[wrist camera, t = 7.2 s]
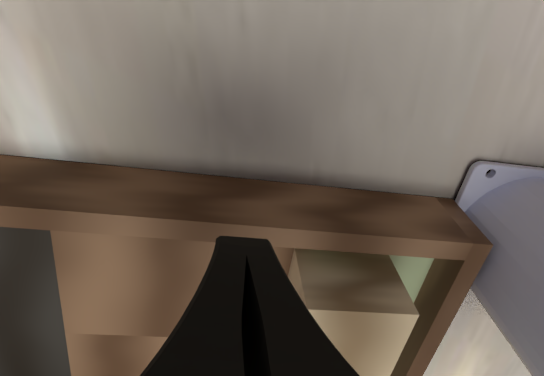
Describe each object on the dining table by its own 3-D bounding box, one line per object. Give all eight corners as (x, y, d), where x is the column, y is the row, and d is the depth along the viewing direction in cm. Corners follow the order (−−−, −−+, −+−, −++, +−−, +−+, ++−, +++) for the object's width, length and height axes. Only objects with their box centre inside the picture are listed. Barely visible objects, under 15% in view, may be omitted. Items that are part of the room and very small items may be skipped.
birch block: (388, 254, 21) (419, 314, 17) (362, 321, 23) (385, 385, 20) (294, 247, 20) (307, 309, 17) (278, 317, 22) (286, 383, 19)
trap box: (452, 198, 22) (493, 245, 18) (366, 389, 30) (384, 446, 27) (-83, 146, 18) (-159, 193, 14) (-10, 382, 26) (-47, 447, 23)
